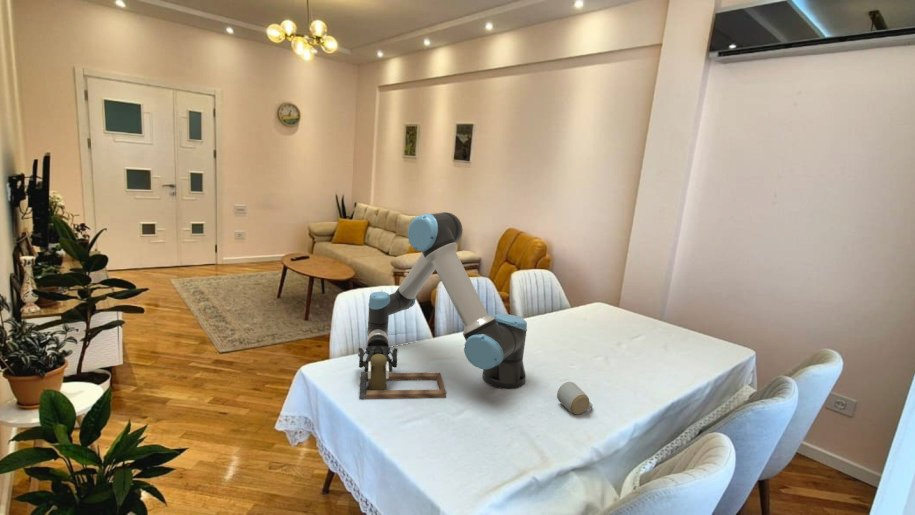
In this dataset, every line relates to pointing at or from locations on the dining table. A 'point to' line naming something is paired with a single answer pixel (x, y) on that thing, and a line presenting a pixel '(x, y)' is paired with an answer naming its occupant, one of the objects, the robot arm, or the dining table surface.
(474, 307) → the robot arm
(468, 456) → the dining table surface
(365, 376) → the end stop
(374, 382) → the cork
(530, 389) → the dining table surface
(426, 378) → the walnut channel
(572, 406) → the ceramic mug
